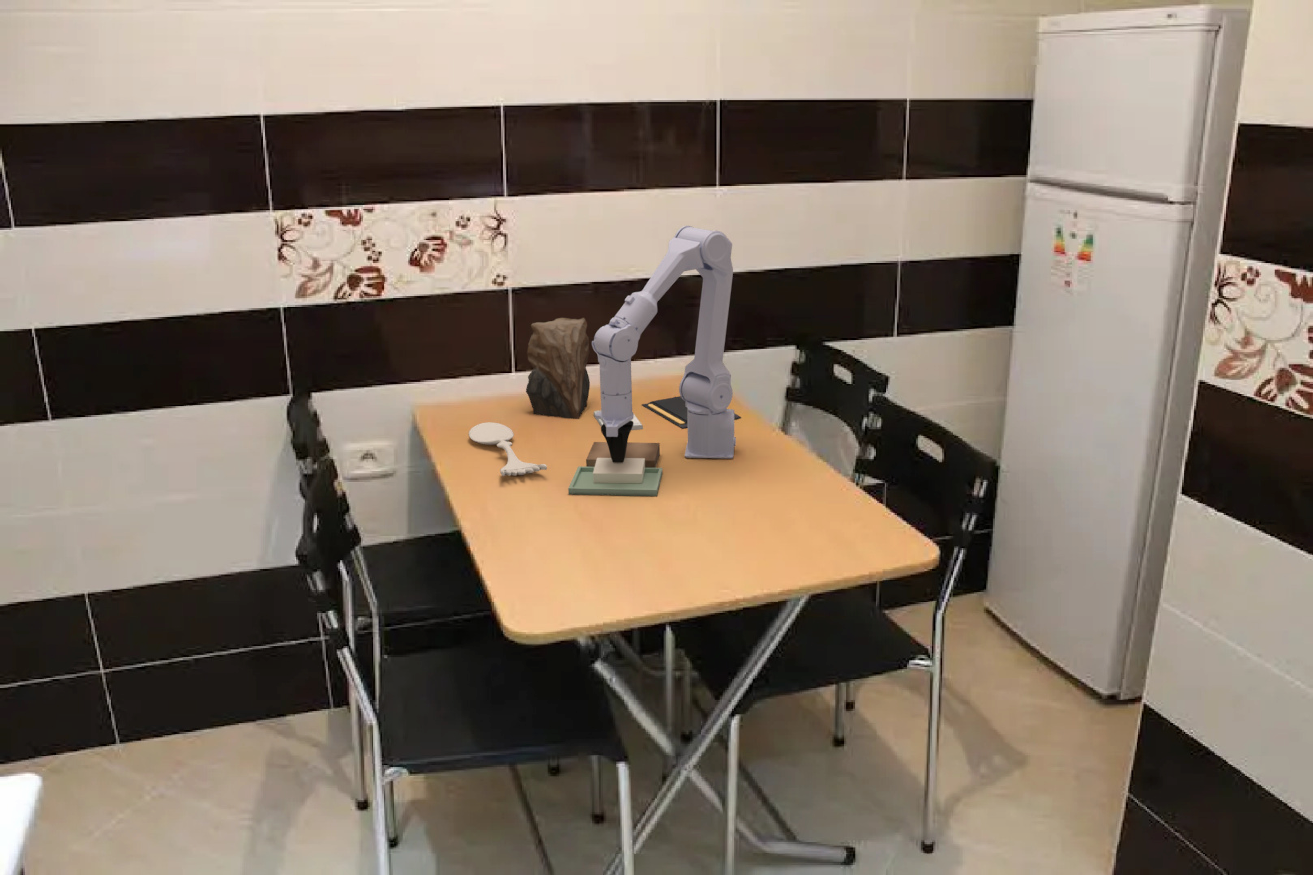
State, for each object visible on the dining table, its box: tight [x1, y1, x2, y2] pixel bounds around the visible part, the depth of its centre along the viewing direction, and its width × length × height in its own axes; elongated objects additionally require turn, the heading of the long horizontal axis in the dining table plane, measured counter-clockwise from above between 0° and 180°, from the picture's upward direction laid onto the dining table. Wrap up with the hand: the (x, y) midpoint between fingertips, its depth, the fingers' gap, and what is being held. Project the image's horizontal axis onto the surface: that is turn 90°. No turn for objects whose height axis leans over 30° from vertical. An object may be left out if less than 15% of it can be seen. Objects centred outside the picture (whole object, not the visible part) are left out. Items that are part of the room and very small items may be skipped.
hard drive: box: [593, 409, 644, 431], centre depth 241 cm, size 2×8×12 cm
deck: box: [585, 441, 661, 468], centre depth 216 cm, size 13×10×2 cm
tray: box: [567, 465, 664, 497], centre depth 206 cm, size 16×11×1 cm
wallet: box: [641, 395, 742, 430], centre depth 247 cm, size 20×2×15 cm
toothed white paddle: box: [468, 422, 548, 477], centre depth 221 cm, size 9×32×4 cm, turn 22°
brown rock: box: [525, 317, 591, 420], centre depth 247 cm, size 13×13×20 cm
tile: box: [593, 458, 645, 483], centre depth 208 cm, size 9×6×2 cm, turn 85°
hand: (618, 461), depth 209 cm, fingers closed
